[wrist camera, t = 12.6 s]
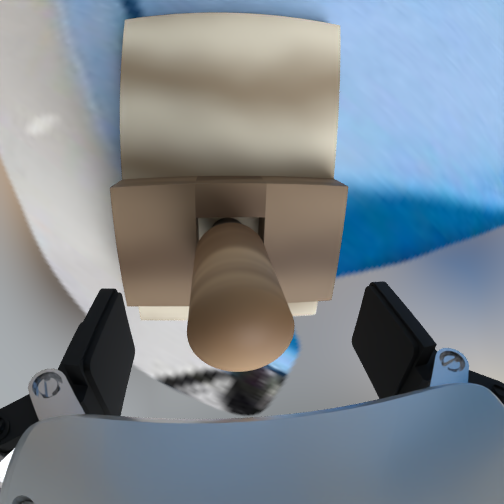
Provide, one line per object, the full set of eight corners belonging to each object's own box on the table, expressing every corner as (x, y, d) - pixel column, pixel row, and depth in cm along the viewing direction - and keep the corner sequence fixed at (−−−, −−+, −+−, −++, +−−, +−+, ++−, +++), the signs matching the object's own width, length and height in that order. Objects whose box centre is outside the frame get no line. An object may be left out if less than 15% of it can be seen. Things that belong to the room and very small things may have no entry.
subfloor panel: (129, 24, 15) (113, 8, 11) (333, 29, 16) (355, 15, 13) (143, 311, 24) (134, 340, 20) (311, 306, 25) (324, 333, 22)
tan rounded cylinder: (196, 206, 20) (182, 289, 10) (258, 205, 20) (299, 285, 10) (198, 262, 21) (191, 372, 12) (256, 260, 22) (288, 367, 12)
